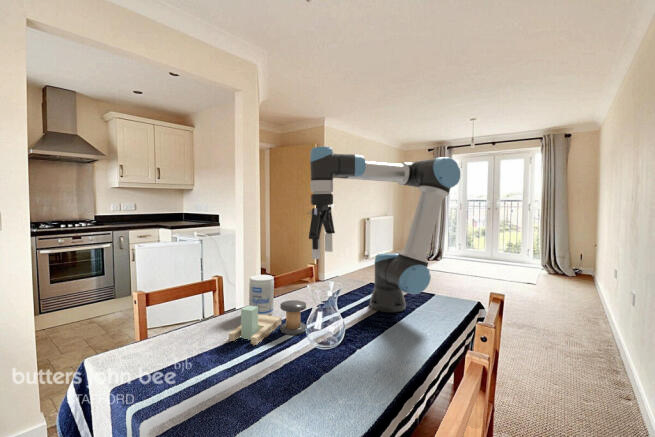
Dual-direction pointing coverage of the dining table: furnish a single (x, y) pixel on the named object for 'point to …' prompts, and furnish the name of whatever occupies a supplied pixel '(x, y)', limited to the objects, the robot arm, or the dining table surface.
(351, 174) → the robot arm
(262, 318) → the notched board
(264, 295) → the supplement tub
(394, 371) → the dining table surface
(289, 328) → the bobbin
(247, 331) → the peg
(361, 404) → the dining table surface
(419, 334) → the dining table surface
